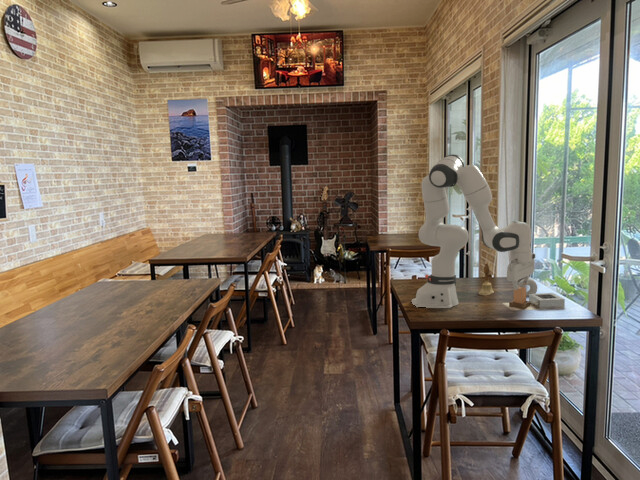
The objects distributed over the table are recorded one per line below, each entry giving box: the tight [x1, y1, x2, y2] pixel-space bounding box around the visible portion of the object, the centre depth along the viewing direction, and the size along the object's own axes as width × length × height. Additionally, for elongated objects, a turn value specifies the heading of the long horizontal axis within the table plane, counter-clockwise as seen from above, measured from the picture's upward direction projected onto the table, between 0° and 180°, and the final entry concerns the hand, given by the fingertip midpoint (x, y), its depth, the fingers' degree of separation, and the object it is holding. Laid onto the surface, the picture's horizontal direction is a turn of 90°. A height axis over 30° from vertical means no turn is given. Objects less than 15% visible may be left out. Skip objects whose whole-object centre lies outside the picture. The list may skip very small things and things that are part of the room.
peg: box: [513, 286, 527, 304], centre depth 211 cm, size 4×4×8 cm
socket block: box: [528, 292, 566, 310], centre depth 211 cm, size 11×11×4 cm
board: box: [501, 302, 563, 312], centre depth 212 cm, size 24×12×2 cm, turn 89°
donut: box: [517, 277, 538, 297], centre depth 229 cm, size 10×3×10 cm, turn 93°
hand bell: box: [478, 263, 495, 297], centre depth 240 cm, size 8×8×16 cm
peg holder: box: [508, 299, 530, 309], centre depth 212 cm, size 7×7×2 cm
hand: (520, 286), depth 210 cm, fingers open, 8 cm apart
